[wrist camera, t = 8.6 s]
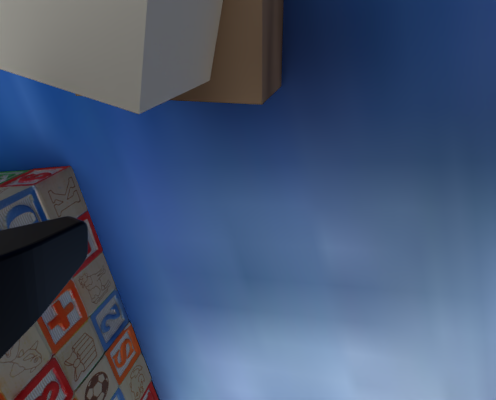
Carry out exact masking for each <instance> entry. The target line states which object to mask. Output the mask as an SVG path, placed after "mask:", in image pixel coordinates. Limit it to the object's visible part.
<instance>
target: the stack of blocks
mask: <svg viewBox="0 0 496 400" xmlns="http://www.w3.org/2000/svg"><path fill="white" fill-rule="evenodd" d="M65 216H71V217H74V218H77V219H79V220H82V221H84V222H85V223H86V224H87V226H88V254H87V257H86V259H85V261H84V263H83V264H82V265H81V267H80V268H79V269H78V270H77V272H76V273H75V274H74V275H73V277H72V278H71V279H70V281H69V282H68V283H67V284H66V286H65V287H64V288H63V289H62V291H61V292H60V293H59V294H58V296H57V297H56V298H55V300H54V301H53V302H52V303H51V305H50V306H49V307H48V308H47V310H46V311H45V312H44V313H43V314H42V316H41V317H40V318H39V319H38V320H37V321H36V322H35V323H34V324H33V325H32V327H31V328H30V329H29V330H28V331H27V332H26V333H25V334H24V335H23V336H22V337H21V338H20V339H19V340H18V341H17V342H16V343H15V344H14V345H13V346H12V347H11V348H10V349H9V350H8V352H7V353H6V354H5V355H4V356H3V357H2V358H1V359H0V400H159V399H158V397H157V394H156V392H155V389H154V386H153V384H152V381H151V376H150V373H149V370H148V368H147V365H146V362H145V360H144V357H143V355H142V353H141V350H140V347H139V344H138V341H137V339H136V336H135V333H134V330H133V328H132V325H131V323H130V322H129V320H128V316H127V314H126V311H125V309H124V306H123V304H122V301H121V298H120V296H119V293H118V290H117V289H116V287H115V283H114V280H113V278H112V275H111V273H110V270H109V267H108V265H107V262H106V260H105V257H104V254H103V252H102V251H103V250H102V247H101V244H100V241H99V239H98V236H97V234H96V231H95V228H94V225H93V223H92V220H91V218H90V215H89V212H88V210H87V206H86V204H85V201H84V198H83V196H82V193H81V190H80V188H79V185H78V182H77V180H76V177H75V174H74V172H73V169H72V167H71V166H62V167H49V168H38V169H32V170H20V171H6V172H0V230H5V229H9V228H14V227H18V226H23V225H28V224H32V223H37V222H42V221H46V220H51V219H56V218H60V217H65Z"/></svg>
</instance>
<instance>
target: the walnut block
mask: <svg viewBox="0 0 496 400" xmlns="http://www.w3.org/2000/svg"><path fill="white" fill-rule="evenodd" d="M282 35H283V0H223V4H222V10H221V16H220V22H219V28H218V34H217V40H216V46H215V52H214V58H213V64H212V70H211V76H210V81H208V82H206V83H204V84H201V85H199V86H197V87H195V88H193V89H191V90H189V91H187V92H185V93H182V94H180V95H178V96H176V97H174V98H172V99H170V100H179V101H200V102H220V103H241V104H261V105H262V104H263V103H264V102H265V101H266V100H267V99H268V98H269V97H270V96H271V95H272V94H274V93H275V92H276V91H277V90H278V89H279V88H280V87H281V74H282ZM75 94H76V93H75ZM76 96H82V95H79V94H76Z"/></svg>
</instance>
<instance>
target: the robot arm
mask: <svg viewBox="0 0 496 400" xmlns="http://www.w3.org/2000/svg"><path fill="white" fill-rule="evenodd" d="M87 254H88V226H87V224H86V223H85V222H84V221H82V220H79V219H77V218H74V217H71V216H65V217H60V218H56V219H51V220H46V221H42V222H37V223H32V224H28V225H23V226H18V227H14V228H9V229H5V230H0V359H1V358H2V357H3V356H4V355H5V354H6V353H7V352H8V350H9V349H10V348H11V347H12V346H13V345H14V344H15V343H16V342H17V341H18V340H19V339H20V338H21V337H22V336H23V335H24V334H25V333H26V332H27V331H28V330H29V329H30V328H31V327H32V325H33V324H34V323H35V322H36V321H37V320H38V319H39V318H40V317H41V316H42V314H43V313H44V312H45V311H46V310H47V308H48V307H49V306H50V305H51V303H52V302H53V301H54V300H55V298H56V297H57V296H58V294H59V293H60V292H61V291H62V289H63V288H64V287H65V286H66V284H67V283H68V282H69V281H70V279H71V278H72V277H73V275H74V274H75V273H76V272H77V270H78V269H79V268H80V267H81V265H82V264H83V263H84V261H85V259H86V257H87Z"/></svg>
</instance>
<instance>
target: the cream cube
mask: <svg viewBox="0 0 496 400" xmlns="http://www.w3.org/2000/svg"><path fill="white" fill-rule="evenodd" d="M222 4H223V0H0V69H2V70H5V71H8V72H11V73H14V74H17V75H20V76H23V77H26V78H29V79H33V80H36V81H39V82H42V83H45V84H48V85H51V86H54V87H57V88H60V89H63V90H66V91H69V92H72V93H76V94H79V95H82V96H85V97H88V98H91V99H94V100H97V101H100V102H103V103H106V104H109V105H112V106H116V107H119V108H122V109H125V110H128V111H131V112H134V113H137V114H140V113H142V112H145V111H147V110H149V109H151V108H153V107H155V106H157V105H159V104H161V103H164V102H166V101H168V100H170V99H172V98H174V97H176V96H178V95H180V94H182V93H185V92H187V91H189V90H191V89H193V88H195V87H197V86H199V85H201V84H204V83H206V82H208V81H210V76H211V70H212V64H213V58H214V52H215V46H216V40H217V34H218V28H219V22H220V16H221V10H222Z"/></svg>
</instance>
